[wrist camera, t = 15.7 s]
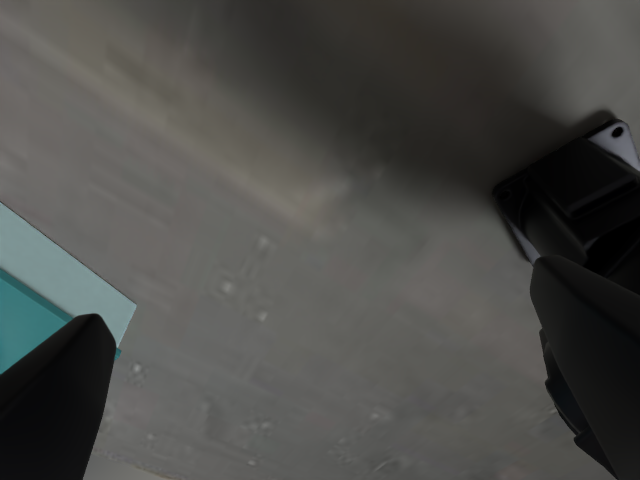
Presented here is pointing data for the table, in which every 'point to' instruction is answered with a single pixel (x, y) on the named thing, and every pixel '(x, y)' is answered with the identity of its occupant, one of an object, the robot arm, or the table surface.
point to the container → (47, 291)
